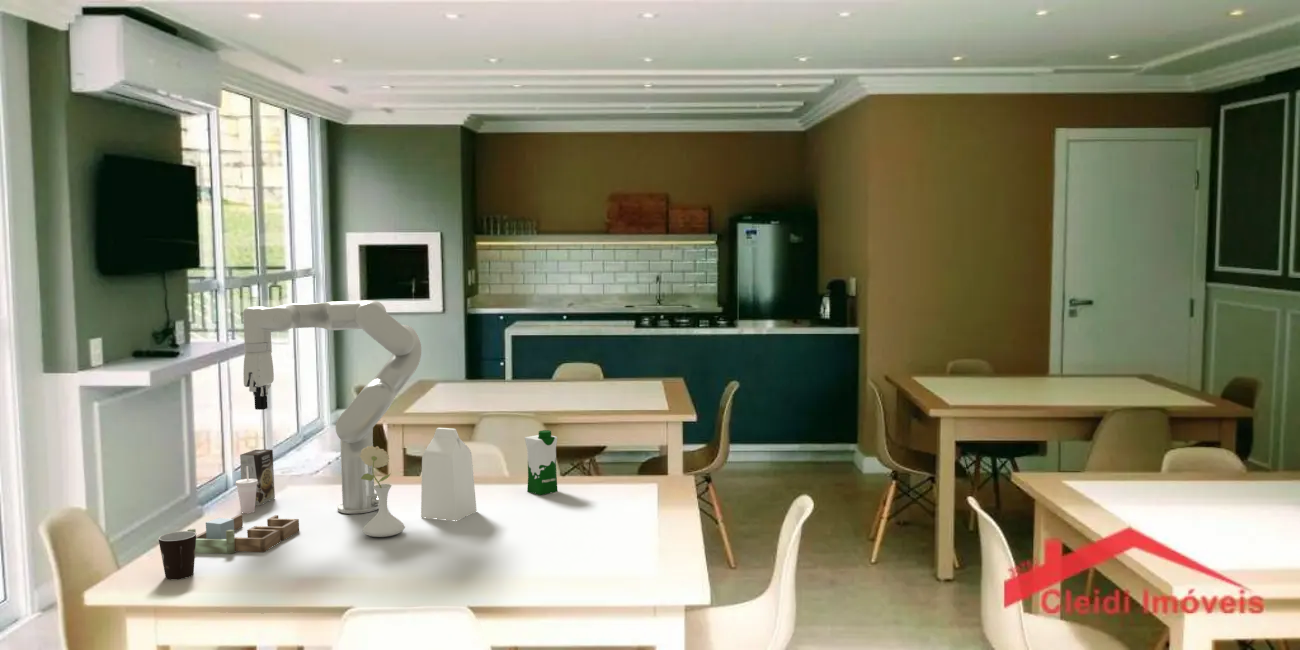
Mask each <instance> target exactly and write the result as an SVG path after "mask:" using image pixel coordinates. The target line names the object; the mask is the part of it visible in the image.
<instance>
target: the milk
mask: <svg viewBox="0 0 1300 650" xmlns="http://www.w3.org/2000/svg"><path fill="white" fill-rule="evenodd" d="M473 466H474V465H473V455H472V451H471V449H470V448H469V447H468V445H467V444H466V443H465V442H464V441H463V440H462V439H461V438H460V436H459V433H458V431H457V428H448V427H437V428H436V429H435V432H434V435H433V437H432V439H431V440H430V442H429V443H428V444H427V447H426V448H425V449H424V452H423V453H422V457H421V495H420V497H421V502H420V518H421V517H426V518H437V519H446V520H445V521H447V520H455V521H454V522H457V521H456V520H458V521H460V520H462V519H464V518H466V517H468V516H467V515H469V516H470V514H471V515H472V513H473V514H475V513H477V512H478V511H477V510H478V509H477V500H476V498H477V497H476V489H475V479H474V477H475V476H474V467H473ZM476 511H477V512H476ZM474 512H475V513H474ZM465 516H466V517H465ZM463 517H464V518H463ZM426 518H425V519H426ZM461 518H462V519H461ZM437 519H436V520H437ZM459 519H460V520H459Z"/></svg>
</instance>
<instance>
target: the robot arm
mask: <svg viewBox="0 0 1300 650" xmlns="http://www.w3.org/2000/svg"><path fill="white" fill-rule="evenodd" d="M242 315H243V316H242V319H243V320H242V321H243V335H244V339H243V340H244V341H243V342H244V358H243V359H244V360H243V386H244V387H245V388H249V389H248V391H249V392H250V393H252V396H253V397H254V409H255V410H267V409H268V408H269V407H268V394H269V389H270V388H271V386H272V383H274V379H275V378H274V364H273V355H272V353H273V350H272V349H273V348H272V331H275V332H286V331H289V330H291V329H307V328H317V329H325V330H328V331H342V330H343V331H344V330H348V331H349V330H363V332H365V334H367V335H368V336H369V337H371V339H373V340H374V341H375V342H377V343H378V344H379V345H380V346H382V347H383V349H385V350H387V351H388V352H389V353H391V356H390V358H389V359H388V360H387V361H386V362H385V364H384V365H383V367H382V368H381V369H380V370H379V372H378V373H377V374H376V375H375V376H374V378H372V379H371V380H370V381H369V382H368V383H367V384H366V385H364V387H363V388H362V389H361V391H360V392H359V393H358V394H357V396H356V397H355V398H354V399H353V400H352V401H351V403H350V404H349V405H348V406H347V408H346V409H344V411H342V413H341V414H340V415H339V417H338V418H337V420H336V423H335V433H336V434H337V437H338V438H339V439H340V472H341V473H340V474H341V492H342V494H341V495H342V496H341V497H342V503H340V504H339V505H338V506H337V511H338V512H339V513H342V514H350V515H351V514H353V515H354V514H355V515H356V514H364V513H365V514H366V513H370V512H371V513H372V512H374V511H377V510H379V500H378V495H377V492H376V491H375V489H374V488H373V486H375V478H373V480H372V481H368V480H364V479H361V477H362V476H363V475H364V474H366V473H367V474H370V475H373V474H372V467H373V466H368V465H366V464H365V463H364V461H362V459H361V458H360V455H361V450H363V448H367V446H369V447H371V446H374V443H373V442H374V440H373V438H374V434H373V433H374V432H373V431H374V427H375V426H376V425H377V424H378V422H379V421H380V420H381V419H382V418H383V416H384V415H385V414H386V413H387V411H388V410H389V409H390V407H391V406H392V404H393V402H394V401H395V398H396V396H398V394H399V393H400V392H401V390H402V389H403V388H404V387H405V385H406V384H407V383H408V382H409V380H410V379H411V378H412V377H413V375H414V373H415V372H416V370H417V369H418V367H419V365H420V361H421V357H422V344H421V341H420V340H421V339H420V337H419V335H418V333H417V331H416V330H415V329H414V328H413V327H412V326H410V325H407V324H401V323H400V322H398V321H397V320H396V319H395V318H393V316H392V315H390V314H389V313H388V312H387V310H386V307H385V306H384V304H383V303H381V302H380V301H378V300H355V301H354V300H350V301H327V302H319V303H318V302H316V303H315V302H314V303H311V302H310V303H288V304H281V305H277V306H275V307H273V306H272V307H267V306H249V307H245V308H244V310H243V314H242ZM373 472H375V471H374V470H373Z"/></svg>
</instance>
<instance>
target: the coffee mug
mask: <svg viewBox="0 0 1300 650" xmlns="http://www.w3.org/2000/svg"><path fill="white" fill-rule="evenodd" d="M196 536H197V533H195V532H192V531H187V530H183V531H182V530H181V531H172V532H169V533H165V534H162V535H159V537H158V538H157V539H158V545H159V548H160V549H159V551H160V554H161V559H162V565H163V571H164V576H165V579H166V578H167V579H166V580H171V579H177V580H182V579H181V578H184V579H186V578H185V577H188V578H189V576H190V577H192V576H193V575H194V574H195V572H194V571H195V561H196V559H195V557H196V552H195V547H196ZM191 575H192V576H191Z"/></svg>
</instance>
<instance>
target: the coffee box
mask: <svg viewBox="0 0 1300 650" xmlns="http://www.w3.org/2000/svg"><path fill="white" fill-rule="evenodd" d="M273 453H274V451H273V449H270V448H269V449H266V448H265V449H253V450H251V451H248V452H244V453H241V454H240V455H239V459H240V460H239V461H240V463H239V464H240V480H241V479H247V473H246V466H248V474H249V479H251V478H252V479H257V480H258V483H257V488H256V501H255V506H256V505H259V506H262V505H264V504H266V503H268V502H267V501H269V500H271V501H273V500H275V499H276V496H275V495H276V493H275V477H274V476H275V471H274V454H273ZM274 498H275V499H274ZM272 499H273V500H272ZM265 502H266V503H265ZM269 502H270V501H269ZM263 503H264V504H263ZM261 504H262V505H261Z"/></svg>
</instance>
